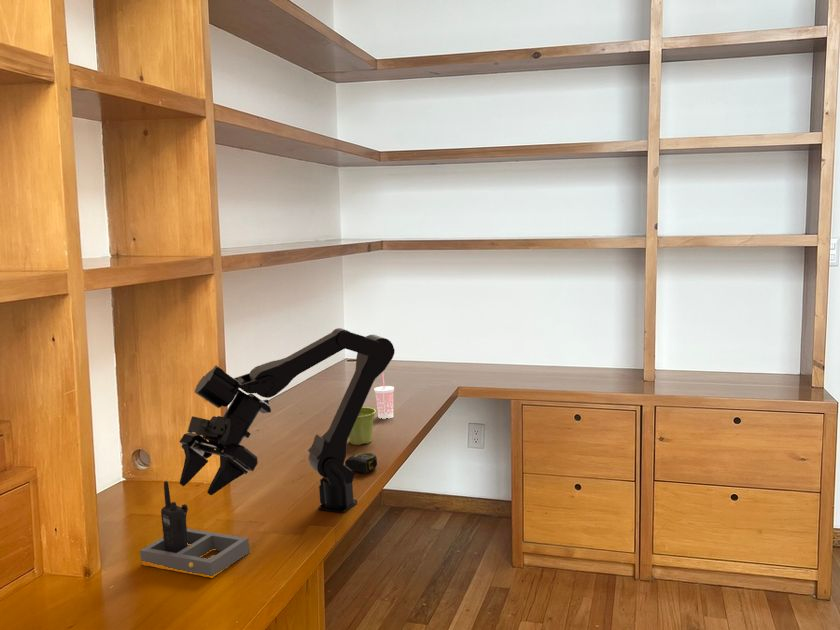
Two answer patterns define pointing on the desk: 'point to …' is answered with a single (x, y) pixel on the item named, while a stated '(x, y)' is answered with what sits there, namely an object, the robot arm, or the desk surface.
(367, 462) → the tape measure
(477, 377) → the desk surface
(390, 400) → the beverage cup
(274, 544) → the desk surface
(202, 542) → the charging station
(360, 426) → the plant pot
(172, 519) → the two-way radio
